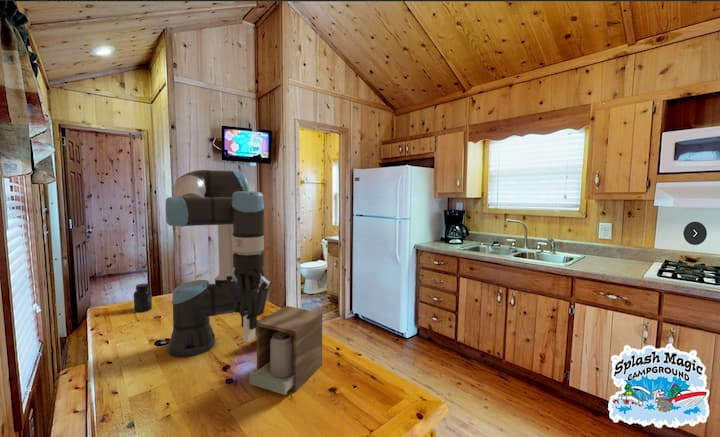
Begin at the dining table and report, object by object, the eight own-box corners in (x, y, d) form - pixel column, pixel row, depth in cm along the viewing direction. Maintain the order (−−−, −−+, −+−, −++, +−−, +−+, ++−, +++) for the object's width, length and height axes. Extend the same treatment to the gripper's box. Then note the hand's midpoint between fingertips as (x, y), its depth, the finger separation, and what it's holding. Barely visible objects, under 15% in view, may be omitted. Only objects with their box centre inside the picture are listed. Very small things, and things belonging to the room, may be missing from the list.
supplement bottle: (148, 306, 152) (147, 281, 151) (154, 309, 148) (153, 284, 147) (131, 310, 147) (130, 285, 146) (137, 313, 143) (136, 288, 142)
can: (289, 381, 92) (289, 341, 90) (265, 377, 93) (265, 338, 92) (299, 367, 99) (299, 330, 98) (277, 364, 100) (277, 327, 99)
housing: (257, 379, 96) (256, 322, 94) (286, 356, 109) (286, 305, 108) (296, 391, 90) (296, 331, 89) (321, 365, 104) (322, 312, 103)
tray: (249, 383, 91) (249, 373, 91) (285, 354, 108) (285, 346, 107) (284, 395, 87) (284, 384, 86) (317, 363, 103) (317, 353, 103)
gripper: (217, 251, 80) (219, 340, 82) (259, 257, 75) (259, 351, 77) (239, 246, 87) (240, 328, 89) (278, 251, 82) (278, 338, 84)
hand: (249, 339), depth 83 cm, fingers closed
